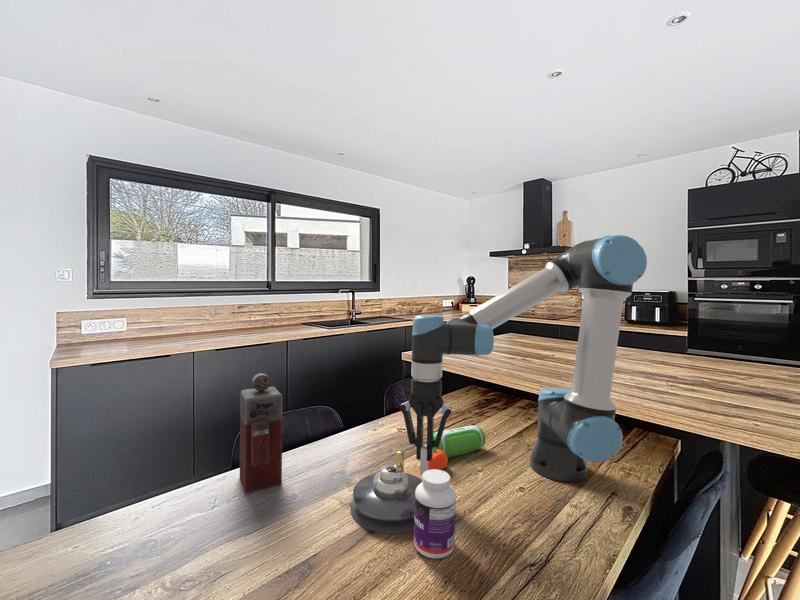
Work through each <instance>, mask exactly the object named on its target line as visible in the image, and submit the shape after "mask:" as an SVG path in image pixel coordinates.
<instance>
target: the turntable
mask: <svg viewBox="0 0 800 600" xmlns="http://www.w3.org/2000/svg"><path fill="white" fill-rule="evenodd" d="M395 455H396V456H395V465H398V466H400V467H401V468H402V472H403V473H405V474H406V475H407V476H408V493H407V495H406V496H405V497H404V498H402V499H399V500H394V501H388V500H383V499H380V498H378V497H377V496H375V494H374V491H373V490H374V476H375V475H376V474H377V473H378V472H376V473H372V474H369V475H367V476H365V477H363V478H362V479H360V480H359V481H358V482H356V484H355V486H354V487H353V490H352V501H353V505H354V507H355V509H356V511H357V512H358V513H359V514H361V515H362V516H364V517H365V518H367V519H369V520H372V521H375V522H379V523H386V524H399V523H405V522H410V521H413V520H414V519H415V491H416V488H417V486H418V485H419V484H420V483H422V478H420V477H418V476H417V475H413V474H411V473H407V472H405V451H404V450H403V449H397V450H396V454H395Z"/></svg>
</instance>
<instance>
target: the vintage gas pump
mask: <svg viewBox="0 0 800 600" xmlns="http://www.w3.org/2000/svg"><path fill="white" fill-rule="evenodd" d="M251 385H252V387H253V388H247V389H242V390H241V391H240V393H239V480H240V483H241V486H242V489H243V493H244V494H248V493H253V492H256V491H260V490H264V489H269V488H273V487H278V486H281V485H282V484H283V481H282V479H283V477H282V476H283V400H284V399H283V395H282V393H280V391H278V389H277V388H276V387H275V386H270V385H271V379H270V377H269V375H267V374H266V373H264V372H263V373H261V372H259V373H257V374H254V376H253V377H252V378H251Z"/></svg>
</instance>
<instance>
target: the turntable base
mask: <svg viewBox="0 0 800 600" xmlns="http://www.w3.org/2000/svg"><path fill="white" fill-rule="evenodd" d="M350 515H351V516H352V519H353V520H354V521H355V523H356V524H358V525H359V526H360V527H362V528H364V529H366V530H368V531H371V532H374V533H378V534H383V535H401V534H407V533H411V532H414V520H413V521H410V522H405V523H399V524H386V523H379V522H375V521H372V520H369V519H367V518H365V517H364V516H362V515H361V514H359V513H358V512H357V511H356V509H355V507H354V505H353V500H352V501H351V503H350Z"/></svg>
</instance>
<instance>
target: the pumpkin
mask: <svg viewBox="0 0 800 600" xmlns="http://www.w3.org/2000/svg"><path fill="white" fill-rule="evenodd" d="M448 462H449V457H447V456H446V454H445V453H444V452H443V451H442V450H439V449H436V447H434V448H433V456H432V460H431V461H428V470H432V469H437V470H442V471H443V470H444V468H446V467H447V466H448Z"/></svg>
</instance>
